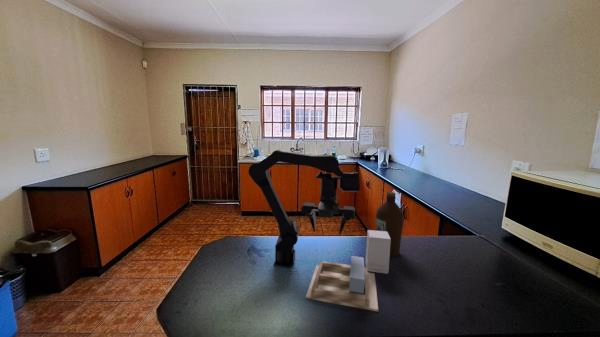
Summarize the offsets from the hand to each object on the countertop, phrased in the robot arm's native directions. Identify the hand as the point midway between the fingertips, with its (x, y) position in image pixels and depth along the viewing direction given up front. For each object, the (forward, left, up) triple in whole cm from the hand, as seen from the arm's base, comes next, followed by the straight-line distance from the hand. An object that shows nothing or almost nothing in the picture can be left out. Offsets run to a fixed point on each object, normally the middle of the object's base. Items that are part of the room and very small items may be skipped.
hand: (327, 233), depth 87 cm
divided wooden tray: (+7, -11, -12) cm, 18 cm away
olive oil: (+23, +17, -12) cm, 31 cm away
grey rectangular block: (+11, -12, -11) cm, 20 cm away
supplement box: (+18, +3, -12) cm, 22 cm away
